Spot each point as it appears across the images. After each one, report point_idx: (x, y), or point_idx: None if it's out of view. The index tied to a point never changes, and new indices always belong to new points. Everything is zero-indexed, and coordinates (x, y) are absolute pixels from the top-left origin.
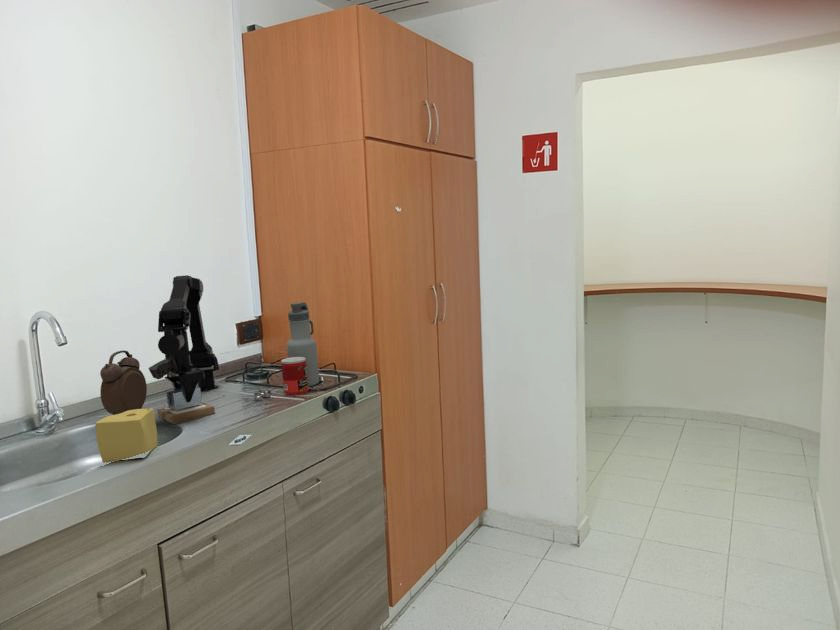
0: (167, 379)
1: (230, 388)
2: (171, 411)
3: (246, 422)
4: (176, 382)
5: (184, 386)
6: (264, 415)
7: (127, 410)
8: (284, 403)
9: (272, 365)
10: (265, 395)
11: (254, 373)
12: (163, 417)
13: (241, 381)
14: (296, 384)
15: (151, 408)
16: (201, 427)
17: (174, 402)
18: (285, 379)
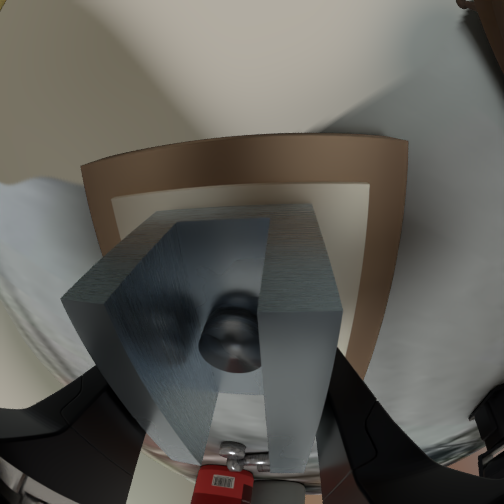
0: (461, 501)
1: (431, 433)
2: (200, 188)
3: (28, 330)
4: (345, 488)
5: (26, 410)
6: (66, 378)
7: (487, 2)
8: (146, 437)
9: (453, 463)
10: (229, 459)
11: (455, 452)
12: (282, 133)
13: (445, 444)
14: (196, 485)
15: None
16: (20, 235)
17: (120, 242)
18: (213, 496)
